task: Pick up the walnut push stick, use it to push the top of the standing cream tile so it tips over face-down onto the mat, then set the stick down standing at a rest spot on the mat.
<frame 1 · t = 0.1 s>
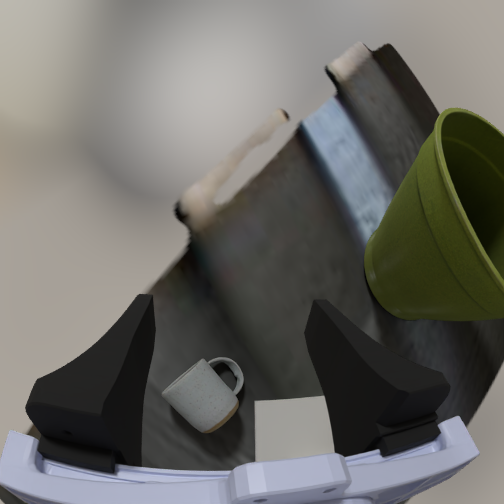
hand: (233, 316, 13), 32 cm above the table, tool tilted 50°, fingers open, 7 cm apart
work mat: (312, 461, 39), on the table
plant pot: (402, 270, 54), on the table
ceramic mug: (206, 387, 41), on the table
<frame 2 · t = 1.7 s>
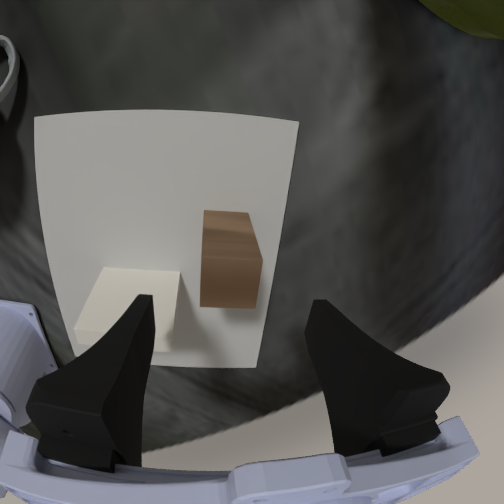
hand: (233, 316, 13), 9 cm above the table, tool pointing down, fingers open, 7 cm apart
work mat: (154, 262, 22), on the table
tile: (141, 276, 22), resting on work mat
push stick: (224, 231, 21), resting on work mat
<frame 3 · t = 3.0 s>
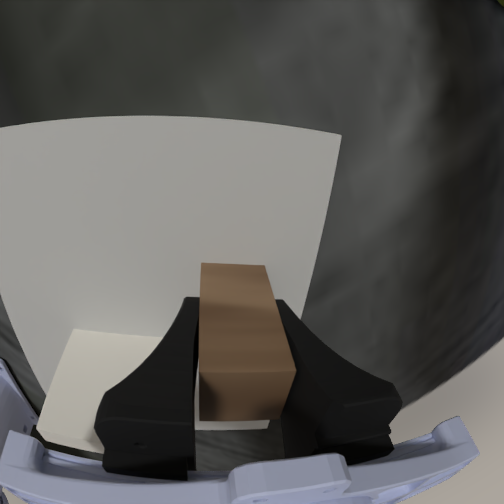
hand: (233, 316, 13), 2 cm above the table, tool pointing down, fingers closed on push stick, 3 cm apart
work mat: (137, 325, 16), on the table
tile: (121, 341, 16), resting on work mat
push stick: (230, 290, 15), resting on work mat, touching gripper
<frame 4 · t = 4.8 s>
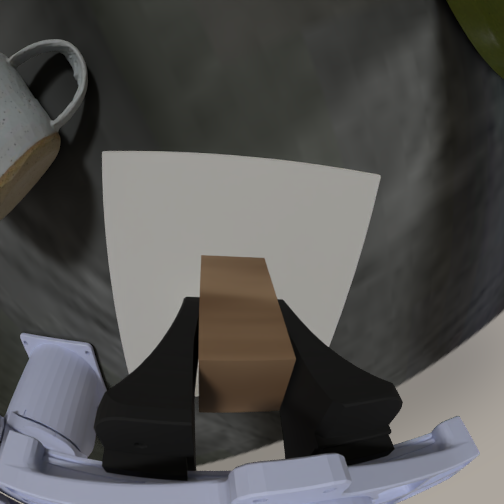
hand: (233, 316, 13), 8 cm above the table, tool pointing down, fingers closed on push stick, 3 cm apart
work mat: (232, 304, 23), on the table
ceramic mug: (29, 112, 15), on the table
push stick: (230, 283, 15), point 6 cm above the table, touching gripper
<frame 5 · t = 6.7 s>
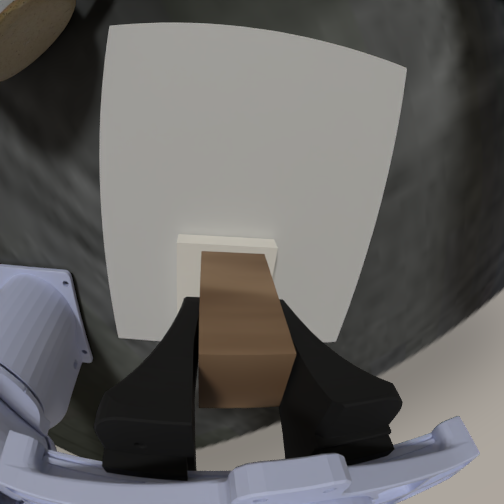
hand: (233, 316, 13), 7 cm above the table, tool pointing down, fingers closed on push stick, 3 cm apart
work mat: (245, 209, 19), on the table
tile: (227, 240, 19), point 1 cm above the table, tilted 90°, touching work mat
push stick: (230, 279, 15), point 5 cm above the table, touching gripper
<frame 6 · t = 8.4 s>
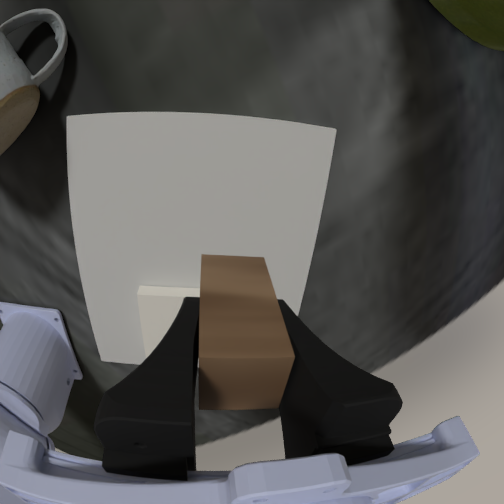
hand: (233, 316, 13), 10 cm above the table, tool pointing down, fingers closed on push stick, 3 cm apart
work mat: (191, 265, 23), on the table
tile: (177, 291, 23), point 1 cm above the table, tilted 90°, touching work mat
ceramic mug: (16, 76, 14), on the table
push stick: (230, 282, 16), point 7 cm above the table, touching gripper
when the fingers open (4 cm above the table, at t = 10.1 s): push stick stays where it is, resting on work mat.
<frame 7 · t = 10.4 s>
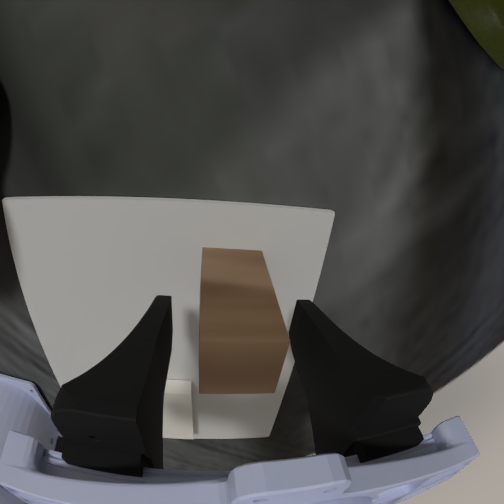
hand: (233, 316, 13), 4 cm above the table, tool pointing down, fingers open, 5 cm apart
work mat: (161, 358, 19), on the table
tile: (148, 384, 19), point 1 cm above the table, tilted 90°, touching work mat
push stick: (229, 274, 16), resting on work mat
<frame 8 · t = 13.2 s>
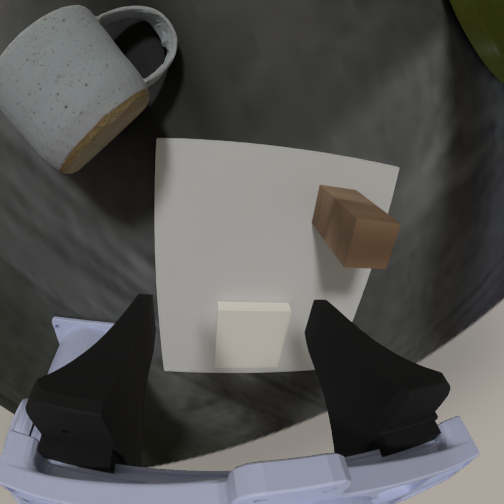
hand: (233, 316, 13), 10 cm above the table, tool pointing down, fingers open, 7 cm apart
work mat: (267, 282, 26), on the table
plant pot: (498, 4, 14), on the table
tile: (254, 306, 25), point 1 cm above the table, tilted 90°, touching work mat
ceramic mug: (104, 74, 17), on the table
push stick: (334, 206, 23), resting on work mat
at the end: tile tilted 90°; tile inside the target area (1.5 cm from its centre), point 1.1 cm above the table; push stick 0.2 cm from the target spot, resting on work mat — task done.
